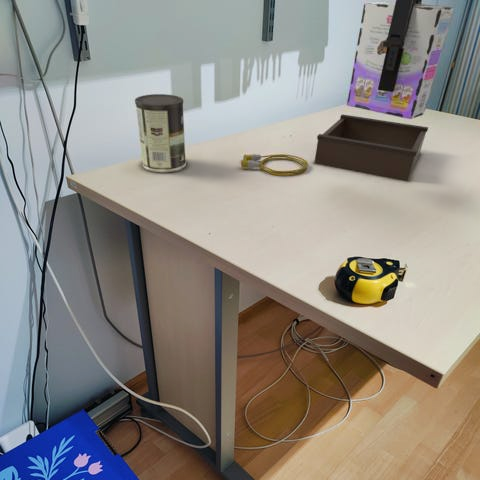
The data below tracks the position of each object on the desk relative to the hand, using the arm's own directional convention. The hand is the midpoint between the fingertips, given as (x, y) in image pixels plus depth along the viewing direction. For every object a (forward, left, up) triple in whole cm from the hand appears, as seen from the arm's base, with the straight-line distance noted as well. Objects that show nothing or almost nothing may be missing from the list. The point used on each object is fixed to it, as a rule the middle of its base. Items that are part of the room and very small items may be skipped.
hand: (389, 86), depth 78 cm
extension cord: (+23, -5, -21) cm, 31 cm away
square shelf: (+4, -23, -20) cm, 31 cm away
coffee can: (+46, +8, -21) cm, 51 cm away
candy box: (0, 0, -4) cm, 4 cm away
